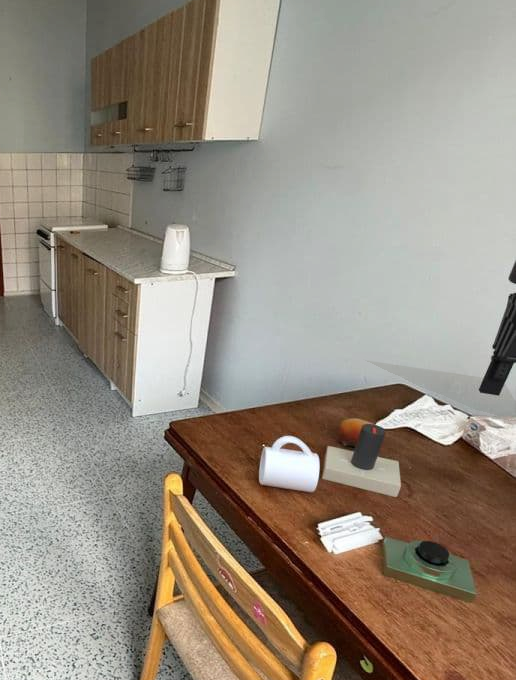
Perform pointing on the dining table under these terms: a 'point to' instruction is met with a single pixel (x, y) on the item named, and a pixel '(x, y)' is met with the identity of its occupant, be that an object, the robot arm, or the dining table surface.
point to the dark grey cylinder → (368, 446)
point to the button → (433, 553)
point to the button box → (427, 570)
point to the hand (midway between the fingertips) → (488, 392)
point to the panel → (362, 472)
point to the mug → (289, 466)
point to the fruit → (351, 431)
